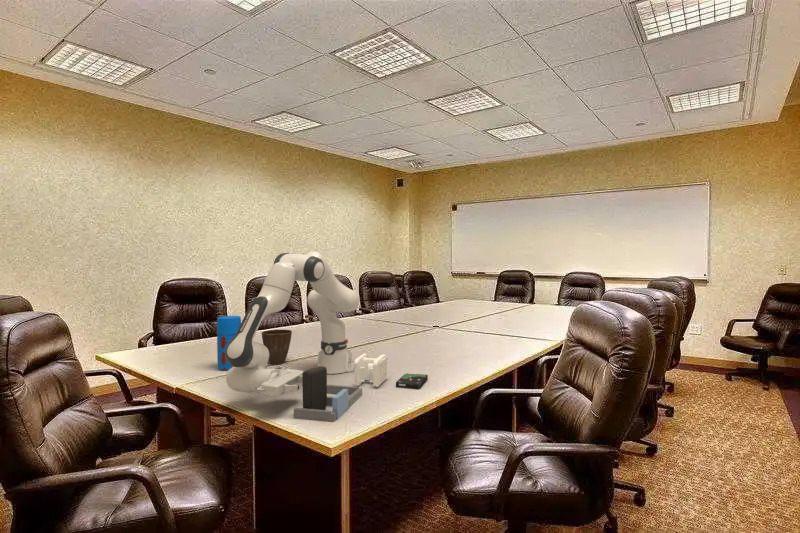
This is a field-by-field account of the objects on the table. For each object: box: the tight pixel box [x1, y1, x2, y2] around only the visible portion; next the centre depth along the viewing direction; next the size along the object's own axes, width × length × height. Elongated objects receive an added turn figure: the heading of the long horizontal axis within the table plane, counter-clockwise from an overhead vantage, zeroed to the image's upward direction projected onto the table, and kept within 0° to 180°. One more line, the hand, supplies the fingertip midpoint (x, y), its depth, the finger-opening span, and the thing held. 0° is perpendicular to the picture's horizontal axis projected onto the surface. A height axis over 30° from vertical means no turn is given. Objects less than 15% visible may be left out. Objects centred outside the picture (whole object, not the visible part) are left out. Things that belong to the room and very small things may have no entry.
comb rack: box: [293, 384, 363, 423], centre depth 157 cm, size 28×15×7 cm, turn 166°
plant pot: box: [261, 329, 293, 366], centre depth 220 cm, size 15×15×16 cm
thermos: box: [216, 315, 242, 372], centre depth 210 cm, size 11×11×25 cm
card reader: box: [301, 365, 328, 410], centre depth 151 cm, size 9×4×15 cm, turn 148°
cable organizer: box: [353, 352, 389, 388], centre depth 184 cm, size 15×11×12 cm
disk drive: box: [395, 372, 429, 390], centre depth 184 cm, size 10×3×15 cm
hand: (304, 383), depth 152 cm, fingers open, 8 cm apart
